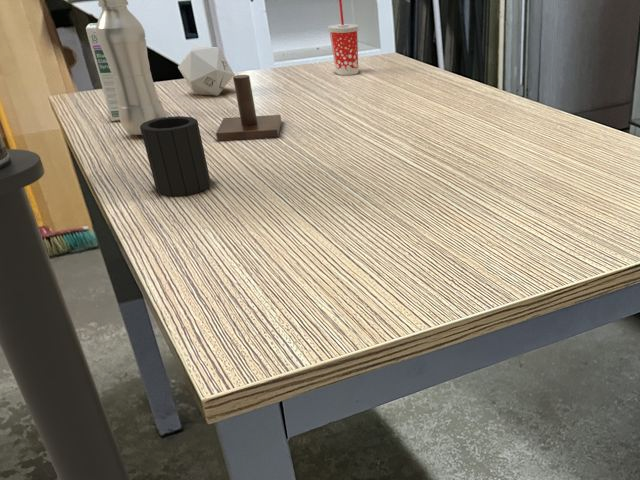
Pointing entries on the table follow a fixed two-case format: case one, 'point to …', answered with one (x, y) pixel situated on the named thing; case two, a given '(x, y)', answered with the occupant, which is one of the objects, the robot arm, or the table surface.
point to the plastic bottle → (128, 65)
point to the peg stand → (247, 117)
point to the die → (206, 70)
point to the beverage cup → (344, 46)
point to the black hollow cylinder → (176, 155)
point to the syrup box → (103, 73)
